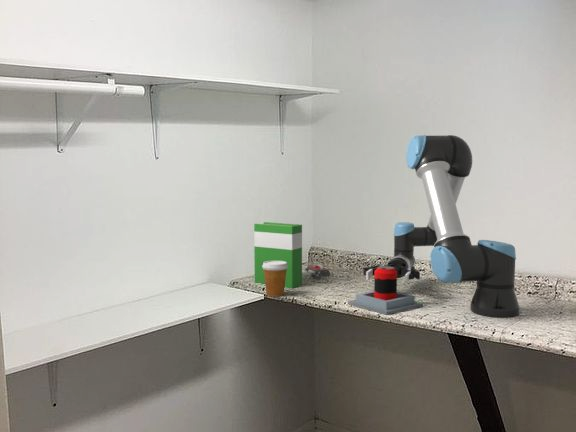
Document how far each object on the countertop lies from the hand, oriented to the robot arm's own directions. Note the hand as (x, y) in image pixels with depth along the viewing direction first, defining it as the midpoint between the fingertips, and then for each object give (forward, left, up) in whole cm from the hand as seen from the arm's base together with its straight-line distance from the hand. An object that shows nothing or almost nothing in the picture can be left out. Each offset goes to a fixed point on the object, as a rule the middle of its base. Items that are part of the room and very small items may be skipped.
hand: (386, 277), depth 210 cm
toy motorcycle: (+51, -14, -10) cm, 54 cm away
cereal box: (+48, +10, -9) cm, 50 cm away
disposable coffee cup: (+34, +22, -9) cm, 42 cm away
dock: (-2, +2, -9) cm, 10 cm away
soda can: (-2, +2, -8) cm, 9 cm away
